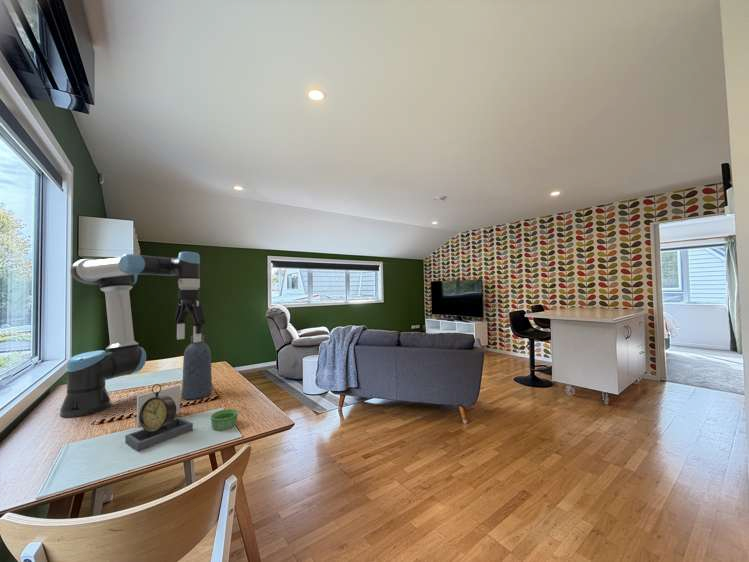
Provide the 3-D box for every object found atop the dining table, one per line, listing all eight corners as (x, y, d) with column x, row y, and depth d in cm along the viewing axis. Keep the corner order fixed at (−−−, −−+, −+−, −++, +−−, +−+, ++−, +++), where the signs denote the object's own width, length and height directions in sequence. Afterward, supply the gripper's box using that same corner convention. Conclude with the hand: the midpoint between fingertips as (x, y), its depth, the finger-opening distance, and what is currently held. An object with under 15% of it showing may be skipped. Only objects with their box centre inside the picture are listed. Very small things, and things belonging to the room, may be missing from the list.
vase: (190, 391, 145) (190, 333, 145) (216, 390, 146) (216, 333, 147) (176, 401, 133) (176, 337, 133) (204, 399, 134) (205, 337, 135)
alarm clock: (139, 439, 98) (135, 389, 102) (154, 433, 103) (149, 386, 107) (168, 431, 97) (163, 381, 100) (181, 426, 102) (176, 378, 106)
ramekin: (228, 418, 114) (228, 407, 114) (243, 423, 110) (243, 411, 110) (205, 428, 106) (205, 415, 107) (219, 434, 102) (220, 421, 102)
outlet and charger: (136, 425, 108) (137, 395, 109) (178, 412, 120) (178, 384, 121) (150, 433, 102) (150, 401, 103) (193, 418, 114) (193, 389, 114)
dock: (125, 442, 96) (125, 435, 96) (179, 423, 110) (179, 417, 110) (138, 451, 91) (138, 443, 91) (192, 430, 104) (192, 423, 105)
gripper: (165, 289, 127) (164, 339, 126) (195, 288, 113) (194, 344, 113) (184, 289, 133) (183, 336, 133) (214, 288, 120) (214, 341, 119)
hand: (188, 340), depth 123 cm, fingers open, 13 cm apart
